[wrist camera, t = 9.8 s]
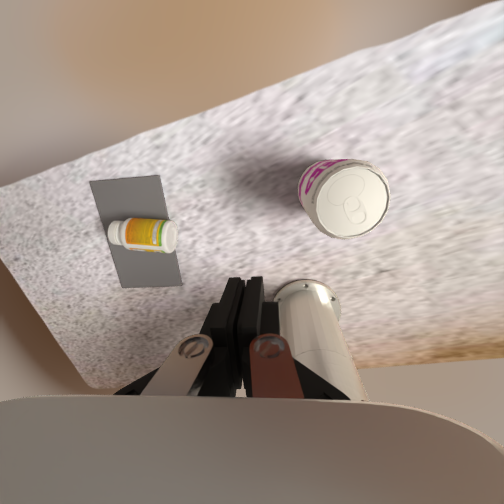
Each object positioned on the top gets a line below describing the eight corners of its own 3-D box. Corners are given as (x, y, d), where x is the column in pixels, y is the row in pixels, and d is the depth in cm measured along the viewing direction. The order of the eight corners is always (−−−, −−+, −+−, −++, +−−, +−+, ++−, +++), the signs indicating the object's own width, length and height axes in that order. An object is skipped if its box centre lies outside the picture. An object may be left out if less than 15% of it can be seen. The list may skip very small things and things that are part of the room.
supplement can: (287, 179, 38) (295, 190, 24) (337, 148, 35) (377, 140, 21) (311, 223, 40) (331, 256, 26) (359, 196, 38) (410, 218, 24)
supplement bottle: (173, 213, 39) (116, 209, 40) (162, 237, 35) (99, 232, 36) (181, 237, 43) (128, 232, 44) (171, 260, 40) (114, 255, 40)
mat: (182, 284, 46) (181, 286, 46) (123, 286, 47) (122, 288, 47) (159, 175, 39) (158, 175, 39) (91, 181, 40) (89, 181, 40)
